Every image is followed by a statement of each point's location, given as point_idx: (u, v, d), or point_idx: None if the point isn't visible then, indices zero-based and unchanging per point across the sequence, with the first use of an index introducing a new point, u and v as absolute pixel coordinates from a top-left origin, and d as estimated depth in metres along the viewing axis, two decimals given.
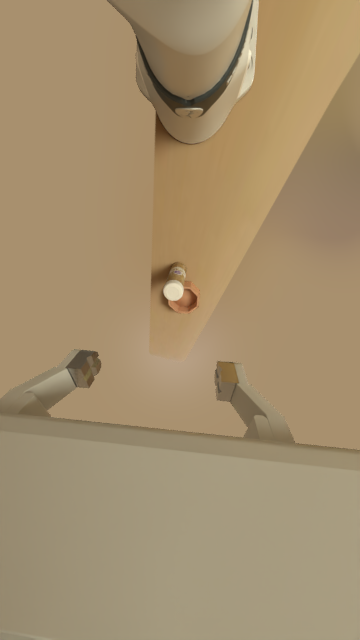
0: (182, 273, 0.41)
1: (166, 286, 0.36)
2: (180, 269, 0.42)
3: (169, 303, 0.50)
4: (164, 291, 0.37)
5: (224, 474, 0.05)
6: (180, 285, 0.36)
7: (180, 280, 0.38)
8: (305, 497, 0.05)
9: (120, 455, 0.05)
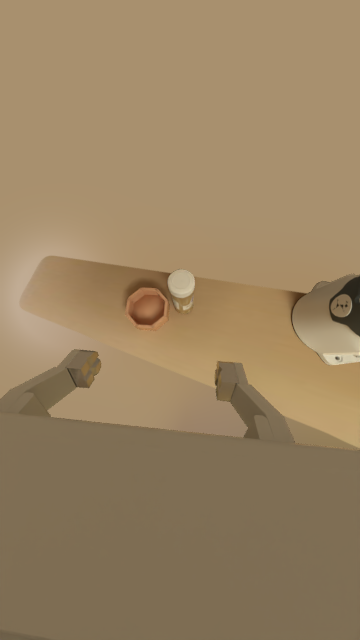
0: (189, 304, 0.34)
1: (190, 273, 0.27)
2: (191, 303, 0.35)
3: (142, 288, 0.38)
4: (182, 270, 0.27)
5: (224, 474, 0.05)
6: (190, 292, 0.27)
7: (189, 296, 0.30)
8: (305, 498, 0.05)
9: (120, 455, 0.05)
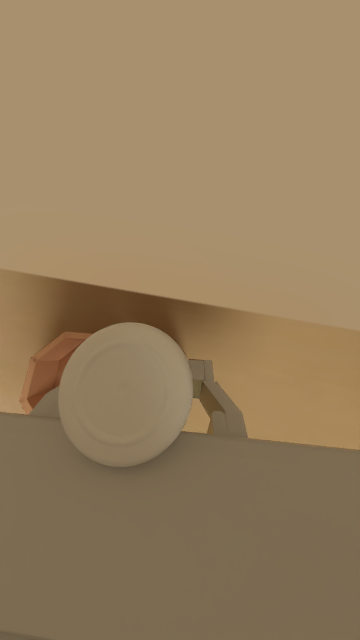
0: None
1: (170, 348, 0.06)
2: None
3: (69, 335, 0.16)
4: (135, 331, 0.06)
5: (224, 474, 0.05)
6: None
7: None
8: (305, 497, 0.05)
9: None
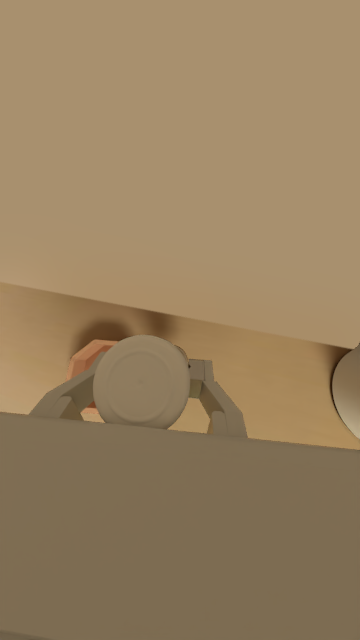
0: None
1: (174, 356, 0.08)
2: None
3: (97, 342, 0.23)
4: (149, 342, 0.08)
5: (224, 474, 0.05)
6: None
7: None
8: (305, 498, 0.05)
9: (120, 455, 0.05)
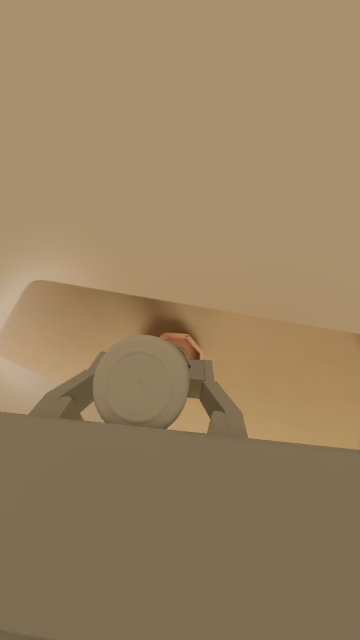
0: None
1: (173, 356, 0.08)
2: None
3: (167, 334, 0.27)
4: (148, 342, 0.08)
5: (224, 474, 0.05)
6: None
7: None
8: (305, 498, 0.05)
9: (120, 455, 0.05)
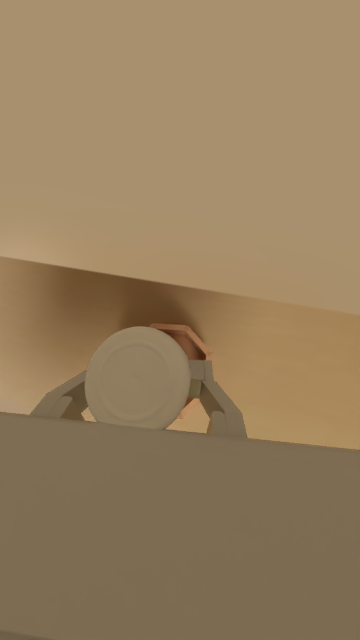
0: None
1: (173, 348, 0.07)
2: None
3: (157, 326, 0.18)
4: (146, 334, 0.07)
5: (224, 474, 0.05)
6: None
7: None
8: (305, 498, 0.05)
9: (120, 455, 0.05)
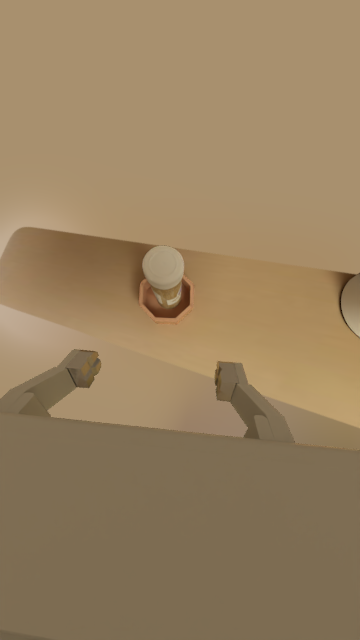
0: (176, 297, 0.25)
1: (177, 252, 0.18)
2: (179, 296, 0.26)
3: None
4: (166, 247, 0.18)
5: (224, 474, 0.05)
6: (176, 281, 0.18)
7: (176, 287, 0.21)
8: (305, 497, 0.05)
9: (120, 455, 0.05)
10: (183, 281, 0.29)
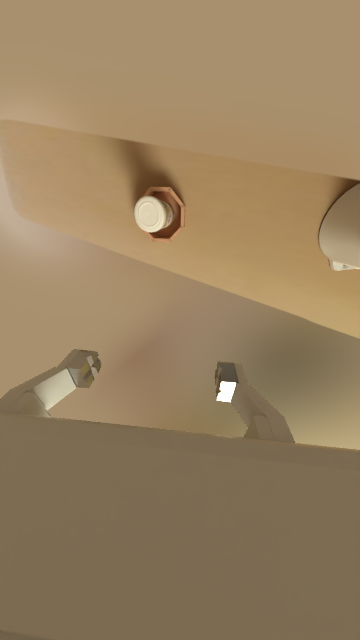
0: (166, 225, 0.31)
1: (158, 204, 0.23)
2: (170, 221, 0.32)
3: (152, 188, 0.31)
4: (149, 199, 0.23)
5: (224, 474, 0.05)
6: (160, 228, 0.25)
7: None
8: (305, 497, 0.05)
9: (120, 455, 0.05)
10: None
